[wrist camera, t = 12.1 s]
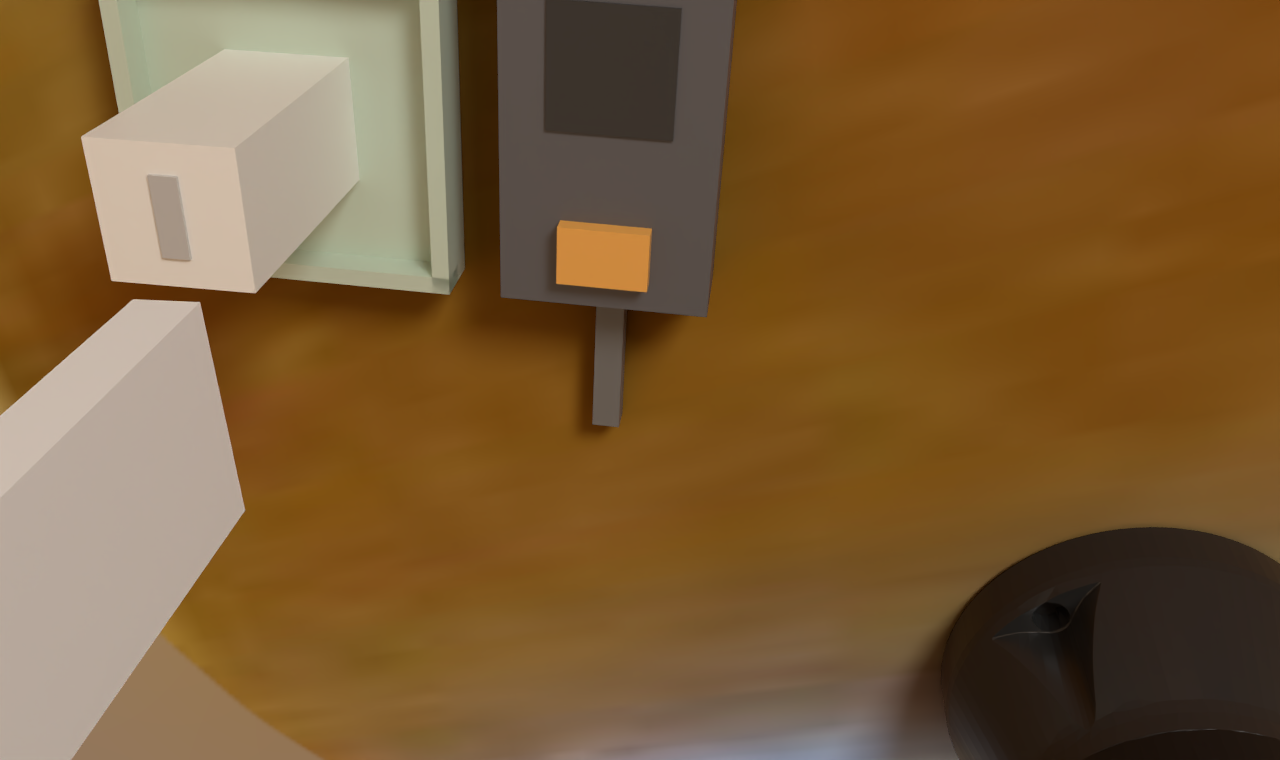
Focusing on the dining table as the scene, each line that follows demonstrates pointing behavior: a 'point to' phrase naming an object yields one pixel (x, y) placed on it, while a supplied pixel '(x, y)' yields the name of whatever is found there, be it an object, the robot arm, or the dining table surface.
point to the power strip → (612, 160)
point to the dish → (383, 116)
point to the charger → (224, 169)
